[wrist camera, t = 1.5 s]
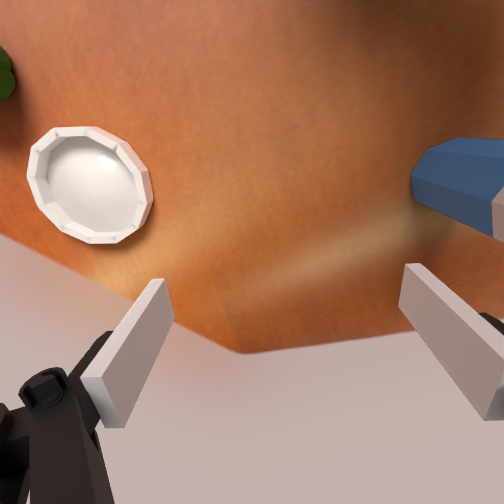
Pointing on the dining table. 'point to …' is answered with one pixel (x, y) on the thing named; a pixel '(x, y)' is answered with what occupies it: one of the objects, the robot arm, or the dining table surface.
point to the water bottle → (464, 182)
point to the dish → (90, 184)
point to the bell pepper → (5, 76)
